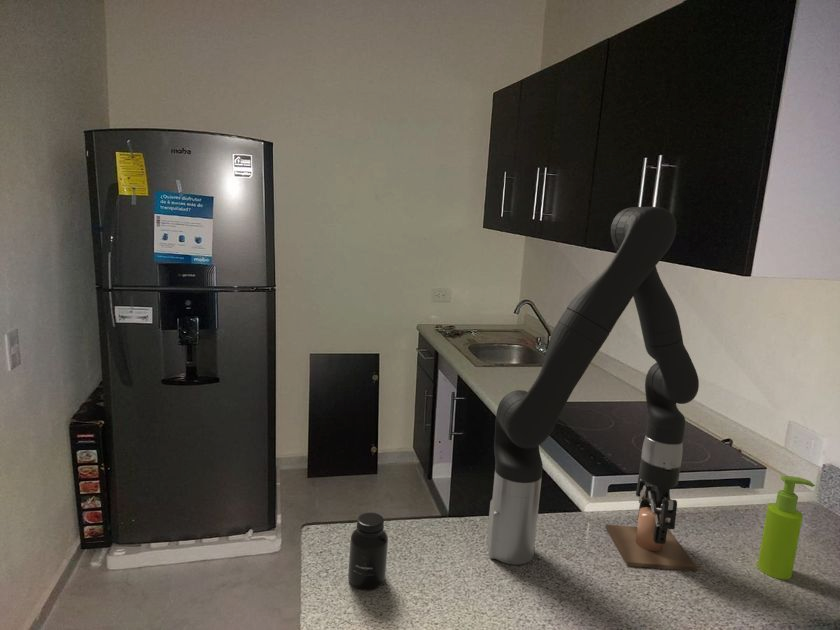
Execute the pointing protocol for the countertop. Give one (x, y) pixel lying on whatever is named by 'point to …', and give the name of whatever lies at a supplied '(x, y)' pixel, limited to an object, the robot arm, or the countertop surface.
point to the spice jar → (647, 530)
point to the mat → (639, 557)
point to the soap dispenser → (781, 531)
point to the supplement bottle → (368, 552)
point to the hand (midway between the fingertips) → (651, 531)
